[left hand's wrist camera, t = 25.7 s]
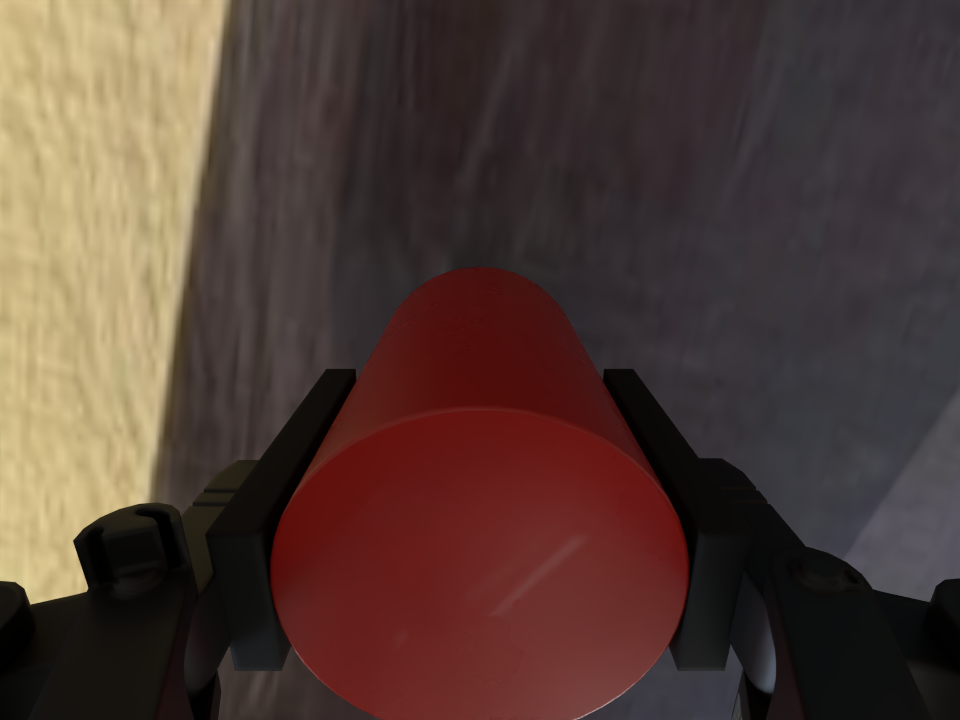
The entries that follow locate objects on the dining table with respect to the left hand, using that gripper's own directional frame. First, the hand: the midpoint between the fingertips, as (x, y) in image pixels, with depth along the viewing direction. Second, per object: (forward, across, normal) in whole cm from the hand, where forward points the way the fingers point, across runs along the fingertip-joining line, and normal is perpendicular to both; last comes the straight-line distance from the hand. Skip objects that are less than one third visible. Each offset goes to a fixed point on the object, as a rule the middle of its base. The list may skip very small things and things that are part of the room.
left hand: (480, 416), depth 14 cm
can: (+4, 0, 0) cm, 4 cm away
